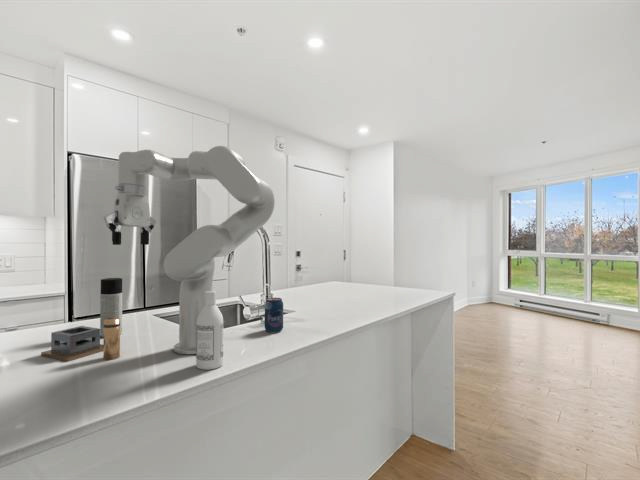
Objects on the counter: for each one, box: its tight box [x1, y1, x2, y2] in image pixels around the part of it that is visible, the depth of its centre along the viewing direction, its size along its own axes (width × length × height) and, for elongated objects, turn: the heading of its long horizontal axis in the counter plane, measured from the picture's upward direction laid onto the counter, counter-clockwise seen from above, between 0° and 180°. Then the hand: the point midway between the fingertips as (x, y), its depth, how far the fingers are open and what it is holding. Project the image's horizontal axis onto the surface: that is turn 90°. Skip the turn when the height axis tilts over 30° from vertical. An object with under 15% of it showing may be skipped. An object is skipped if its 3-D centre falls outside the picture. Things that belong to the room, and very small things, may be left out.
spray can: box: [99, 277, 123, 338], centre depth 121 cm, size 7×7×20 cm
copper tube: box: [102, 318, 121, 361], centre depth 97 cm, size 4×4×11 cm
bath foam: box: [195, 290, 224, 371], centre depth 92 cm, size 7×7×20 cm
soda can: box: [264, 297, 284, 334], centre depth 128 cm, size 7×7×12 cm
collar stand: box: [40, 325, 104, 362], centre depth 102 cm, size 12×12×6 cm
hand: (131, 244), depth 109 cm, fingers open, 9 cm apart
